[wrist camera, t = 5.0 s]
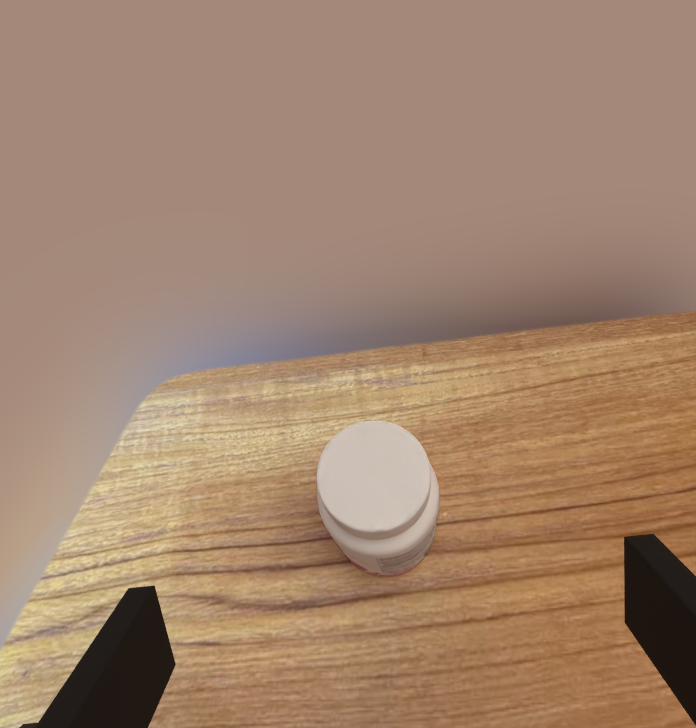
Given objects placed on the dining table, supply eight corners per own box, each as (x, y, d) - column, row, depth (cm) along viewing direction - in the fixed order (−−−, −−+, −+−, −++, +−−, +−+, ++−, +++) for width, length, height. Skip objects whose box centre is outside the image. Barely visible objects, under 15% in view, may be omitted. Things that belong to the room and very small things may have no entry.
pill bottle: (319, 510, 25) (281, 450, 18) (399, 461, 26) (393, 385, 19) (368, 600, 23) (347, 573, 15) (454, 543, 23) (472, 492, 16)
